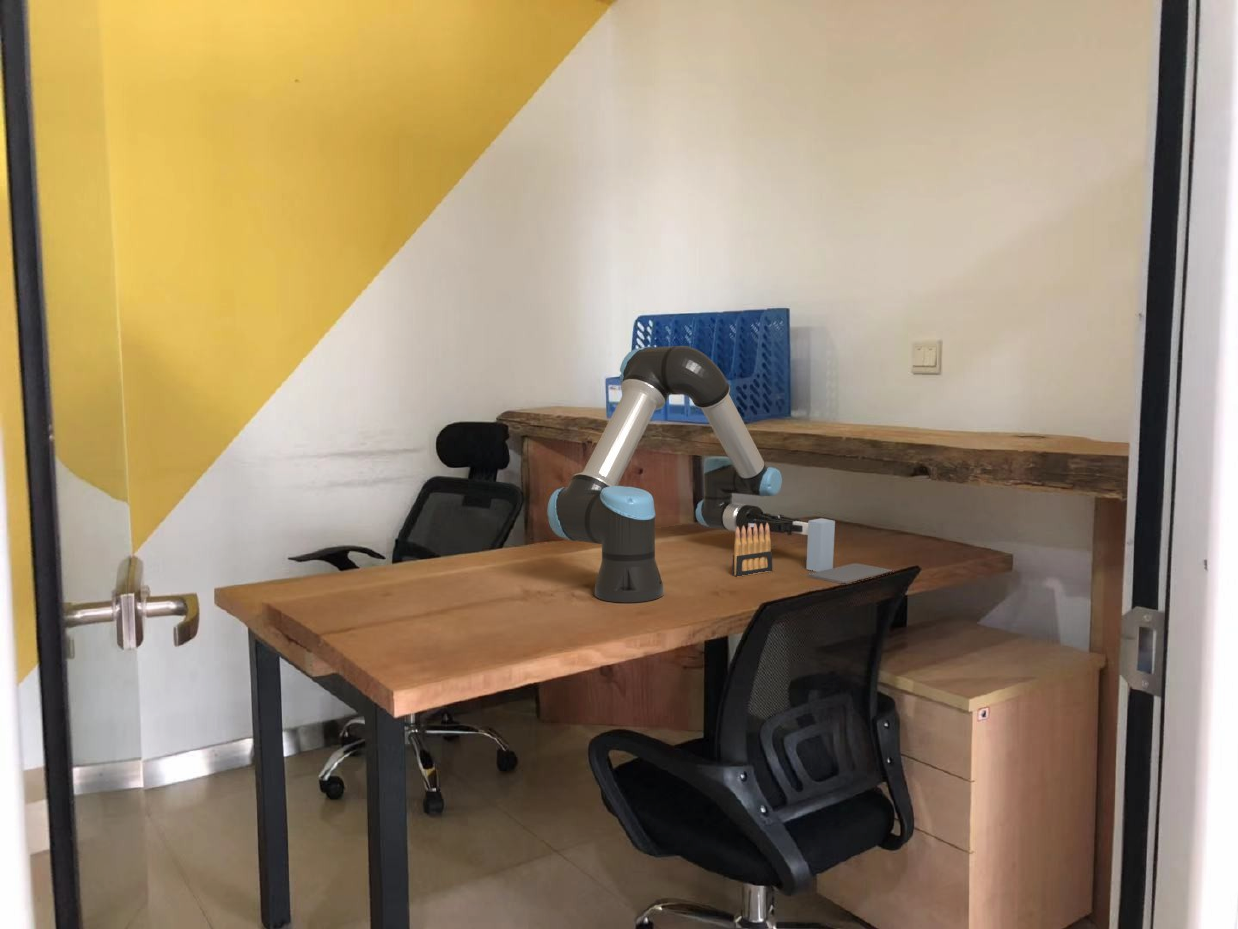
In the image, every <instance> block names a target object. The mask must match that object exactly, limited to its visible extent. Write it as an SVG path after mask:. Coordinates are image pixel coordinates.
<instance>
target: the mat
mask: <svg viewBox="0 0 1238 929" xmlns="http://www.w3.org/2000/svg"><path fill="white" fill-rule="evenodd" d="M892 570H893V569H890V568H884V567H880V566H874V565H873V566H872V565H867V564H863V563H857V562H854V563H849V564H846V565H841V566H840V565H839V566H838V567H837V566H836V567H833V568H832V569H827V570H823V571H819V572H816V571H813V572H812V573H807V577H808V578H812V579H813V578H814V579H817V580H822V581H825V582H832V583H837V584H841V583H848V582H853V581H857V580H859V579H864V578H867V577H873V576H876V575H879V574H883V573H886V572H889V571H892Z"/></svg>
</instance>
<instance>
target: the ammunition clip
mask: <svg viewBox="0 0 1238 929" xmlns="http://www.w3.org/2000/svg"><path fill="white" fill-rule="evenodd" d="M770 534H771V532H770V530H769V525H768V523H766V526H765V531H764V530H763V525H762V523H761V524H760V527H759V532H758V530H757V526H756V524H755V525H754V528H753V535H752V530H751V526H750V525H749V526H748V529H747V534H746V530H745V527H744V525H743V527H742V531H741V532H740V531H739V527H738V526H737V528H736V532H735V531H734V542H733V543H734V544H733V545H734V546H733V555H732V574H731V575H732V577H735V576H742V575H748V574H753V573H758V572H765V571H772V572H773V551H772V548H771V547H772V543H771V535H770ZM748 576H749V575H748ZM742 577H743V576H742Z"/></svg>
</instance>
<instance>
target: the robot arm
mask: <svg viewBox="0 0 1238 929" xmlns="http://www.w3.org/2000/svg"><path fill="white" fill-rule="evenodd" d="M619 372H620V374H619V380H620V390H621V392H622V396H621V397H620V399H619V401H618V403H617V405H616V407H615V409H614V411H613V413H612V414H611V417H610V419H609V420H608V423H607V425H606V426H605V429H604V431H603V433H602V435H601V436H600V439H599V441H598V442H597V444H596V446H595V448H594V450H593V452H592V454H591V456H590V457H589V459H588V461H587V463H586V465H585V467H584V469H583V470H582V472H578V473H575V474H574V475H573V476H572V478H571V479H570V482H569V483H568V485H567V486H566V487H564V486H563V487H561V488H557V489H556V490H554V492H553V493H552V494H551V495H550V497H549V500H548V502H547V503H548V504H547V512H546V515H547V517H548V523H549V526H550V528H551V530H552V531H553V533H554V534H555V535H557V536H558V537H560V538H563V539H566V540H569V541H571V542H583V543H584V542H585V543H591V544H599V545H601V563H600V567H599V570H598V573H597V574H598V575H597V578H596V582H595V584H594V596H595V598H597V599H599V600H602V601H605V602H606V601H607V602H615V603H641V602H643V603H644V602H648V601H649V602H650V601H654V600H656V599H657V600H658V599H659V598H662V597H663V596H664V582H663V580H662V577H661V573H660V571H659V567H658V565H657V561H656V540H655V539H656V527H655V526H656V520H655V519H656V511H655V503H654V502H655V501H654V500H655V499H654V498H653V495H652V494H651V493H650V492H649V491H647V490H645V489H641V488H637V487H634V486H622V485H619V483H620V481H621V479H622V478H623V475H624V473H625V471H626V469H627V467H628V465H629V463H630V461H631V459H632V457H633V455H634V453H635V451H636V449H637V447H638V445H639V442H640V440H641V439H642V437H643V435H644V433H645V431H646V430H647V427H648V424H649V423H650V421H651V419H652V417H653V415H654V412H655V411H658V410H660V409H661V410H662V408H664V407H665V405H666V402H667V401H668V398H669V397H670V396H671V395H672V396H673V395H674V396H675V395H679V396H680V395H682V396H686V397H688V398H689V399H690V400H691V402H692V403H693V405H694V406H695V407H696V408H699V409H701V411H702V412H703V414H704V416H705V417H706V420H707V421H708V423H709V425H710V427H711V429H712V430H713V433H714V434H715V435H716V438H717V439H718V441H719V442H720V444H721V446H722V448H723V450H724V452H725V454H726V455H727V456H709V457H706V458H705V459H704V461H703V462H704V463H703V467H704V468H703V494H704V497H703V499H702V500H699V502H698V504H697V505H696V506H697V507H696V509H695V518H696V520H697V522H698V523H699V524H700V525H702V526H704V527H709V529H710V528H712V529H716V530H717V529H718V530H725V531H731V532H734V533H735V532H736V528H737V526H738V527H739V531H740V533H741V531H742V527H743V525H744V527H745V530H746V535H747V529H748V526H749V525H750V526H751V530H752V536H753V528H754V525H755V524H756V526H757V530H758V533H759V527H760V524H761V523H762V525H763V530H764V532H765V526H766V523H768V525H769V530H770V533H771V532H773V533H779V534H784V533H787V536H792V533H793V534H800V535H804V536H808V522H804V521H802V520H801V519H799V517H795V518H794V517H790V516H785V515H783V514H780V513H779V514H777V515H775V514H771V513H768V512H767V513H764V511H763V510H762V508H761V507H759V506H757V505H751V504H745V503H737V502H733V501H732V500H733V494H737V495H738V494H739V495H745V496H755V497H760V498H761V497H762V498H763V497H774V496H776V495H778V493H779V492H780V491H781V488H782V484H783V479H782V478H783V477H782V473H781V472H780V469H777V468H775V467H772V466H767V464H766V463H765V461H764V459H763V457H762V455H761V453H760V452H759V449H758V448H757V446H756V444H755V442H754V440H753V438H752V436H751V434H750V432H749V430H748V428H747V426H746V425H745V422H744V420H743V419H742V416H741V415H740V413H739V411H738V409H737V407H736V405H735V402H734V401H733V399H732V397H731V395H730V394H729V393H730V390H731V387H730V384H729V382H728V380H727V378H726V377H725V375H724V373H723V372H722V371H721V370H720V368H719V366H717V364H716V363H715V362H714V361H713V360H711V359H710V358H709V357H708V356H707V355H706V354H705V353H703V352H702V351H700V350H698V349H696V348H694V347H692V346H686V345H679V346H643V347H638V348H634V349H632V350H630V351H629V352H628V353H627V354H626V355H625V356H624V357H623V360H622V361H621V364H620V367H619Z"/></svg>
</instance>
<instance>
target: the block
mask: <svg viewBox="0 0 1238 929" xmlns="http://www.w3.org/2000/svg"><path fill="white" fill-rule="evenodd" d="M807 523H808V535H807V546H806V547H807V548H806V570H809V571H812V570H813V572H819V571H823V570H827V569H832V568H834V554H835V553H834V551H835V550H834V549H835V527H836V521H835V520H832V519H827V518H822V517H821V518H814V519H811V520H808V522H807Z"/></svg>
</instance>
